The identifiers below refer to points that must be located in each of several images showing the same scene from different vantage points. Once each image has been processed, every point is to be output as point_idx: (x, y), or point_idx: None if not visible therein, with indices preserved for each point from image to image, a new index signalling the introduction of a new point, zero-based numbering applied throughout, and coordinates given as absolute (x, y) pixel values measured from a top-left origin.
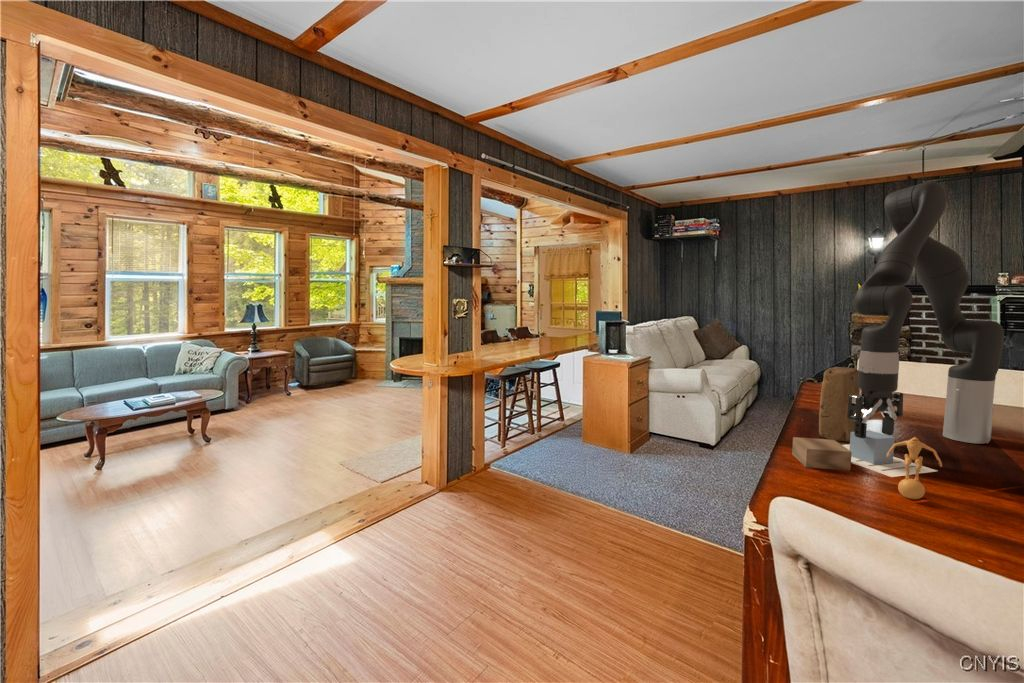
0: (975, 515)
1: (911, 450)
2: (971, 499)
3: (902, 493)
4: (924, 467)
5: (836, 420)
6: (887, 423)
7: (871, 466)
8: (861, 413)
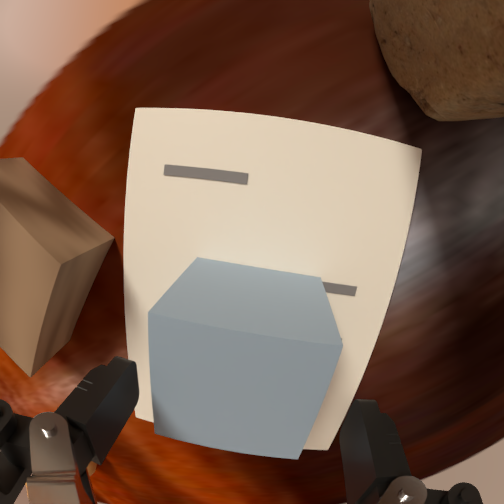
0: (132, 494)
1: None
2: (194, 495)
3: None
4: (329, 429)
5: (432, 33)
6: (354, 475)
7: None
8: (18, 492)
